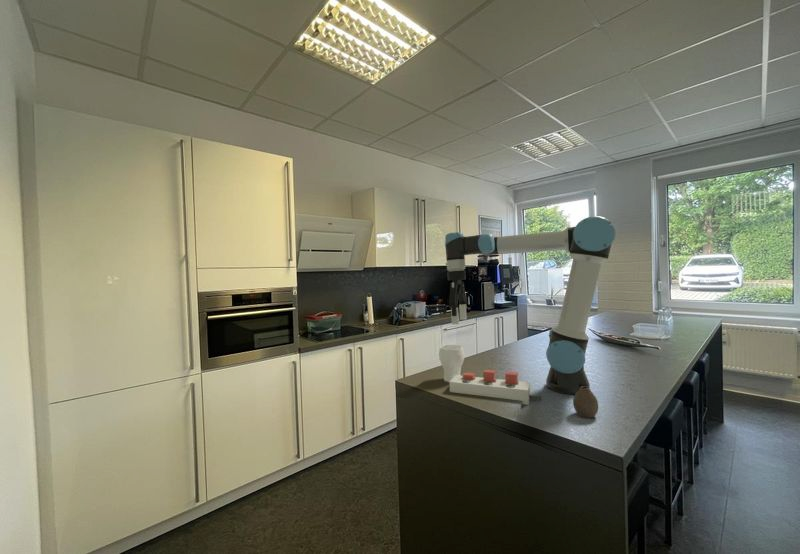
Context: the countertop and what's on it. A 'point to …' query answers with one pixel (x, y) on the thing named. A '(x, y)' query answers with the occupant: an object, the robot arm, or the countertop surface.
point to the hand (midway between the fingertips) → (459, 321)
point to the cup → (451, 360)
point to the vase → (585, 402)
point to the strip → (493, 388)
